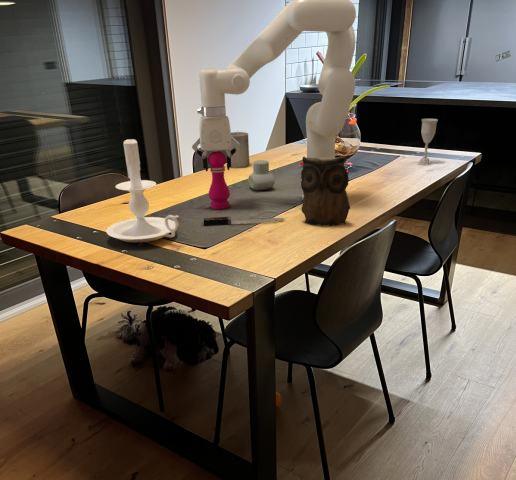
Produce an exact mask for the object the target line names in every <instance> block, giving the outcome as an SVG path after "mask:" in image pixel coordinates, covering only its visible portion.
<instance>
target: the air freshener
mask: <svg viewBox="0 0 516 480" xmlns="http://www.w3.org/2000/svg"><path fill="white" fill-rule="evenodd" d="M252 171H253V172H252V173H250V175H248V177H247V178H248V179H247V180H248V181H247V182H248V185H249V187H250V188H251V189H252V190H255V191H266V190H269V189H271V188H273V187H274V186H275V183H276V181H275V177H274V174H272V173H271V172H270V163H269V161H268V160H264V159H263V160H262V159H261V160H260V159H259V160H255V161H253V162H252Z"/></svg>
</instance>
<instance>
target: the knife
mask: <svg viewBox="0 0 516 480" xmlns="http://www.w3.org/2000/svg"><path fill="white" fill-rule="evenodd" d="M231 217H232V216H218V217H217V216H216V217H203V227H207V226H208V227H209V226H225V225H226V226H227V225H231V226H238V225H239V226H240V225H241V226H242V225H257V224H275V223H276V222H283V220H284V218H283V217H272V218H254V219H253V218H251V219H233V220H232V218H231ZM276 224H277V223H276Z"/></svg>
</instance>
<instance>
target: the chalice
mask: <svg viewBox="0 0 516 480" xmlns="http://www.w3.org/2000/svg"><path fill="white" fill-rule="evenodd" d="M438 121H439V119H437V118H421V131H420V132H421V138H422V140H423V143H424V144H425V145H424V151H423V153H424V155H423V157H421V158H420V160H419V162H418V164H419V166H429V165H431V162H430V158H429V157H428V156H427V155H428V153H429V152H428V149H429V144H430V143H431V142H432V140H433V138H434V137H435V135H436V130H437V123H438Z"/></svg>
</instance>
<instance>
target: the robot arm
mask: <svg viewBox="0 0 516 480" xmlns="http://www.w3.org/2000/svg"><path fill="white" fill-rule="evenodd" d="M356 17H357V11H356V7H355V5H354V3H353V2H352V1H351V0H291V1H289V2H288V3H287V4H286V5H285V6H284V7H283V8H282V9H281V10H280V11H279V13H278V14H277V15H276V16H275V17H274V18H273V19H272V20H271V21H270V22H269V23H268V24H267V25H266V27H264V28H263V30H262V31H261V32H260V33H259V34H258V35H257V36H256V37H255V38H253V40H252V41H251V42H250V43H249V44H248V45H247V46H246V47H245V48H244V49H243V50H242V51H241V52H240V53H239V54H238V55H237V56H236V57H235V58H234V59H233V60H232V61H231V63H230V64H229V65H228V66H227V67H226V68H225V69H220V68H204V69H201V70H200V71H199V73H198V74H199V90H200V102H201V107H200V108H196V109H197V110H196V111H197V114H198V115H199V114H200V115H201V116H200V118H199V138H197V140H196V141H195V142H194V143H193V144H192V146H191V149H192V150H193V151H194V152H195V153H196V154H197V155H198V156H199V157H200V158H201V159H202V166H203V167H202V168H203V169H205V172H209V163H208V157H207V155H208V152H215V151H217V150H219V151H225V154H226V169H227V171H230V168H232V167H231V157H232V155H233V154H234V153H235V152H236V151H237V149H238V148H239V147H240V143H238V142H237V141H236V140H235V139H234V138H233V137H232V136H231V133H232V132H231V123H230V118H229V116H228V115H227V113H226V111H227V110H226V97H225V96H226V94H227V95H236V96H237V95H242V94H244V93H245V92H247V90H248V89H249V87H250V82H251V78H253V76H254V75H255V74H256V73H257V72H258V71H260V70H261V69H262V68H263V67H264V66H266V65H268V64H270V63H271V62H274V61H275V60H277V59H278V58H279V57H280V56H281V55H282V54H283V53H284V52H285V51H286V50H287V48H289V47H290V45H291V44H292V43H293V42H294V41H295V40H296V39H297V38H298V37H299V36H300V35H301V34H302V33H303V32H316V33H317V32H319V33H321V32H323V33H324V32H325V34H326V37H327V49H326V53H325V57H324V60H323V65H322V68H321V71H320V74H319V77H318V81H317V88H318V91H319V94H320V95H322V97H321V101H319V102H316V103H314V104H312V105H311V106H310V107H308V110H307V112H306V116H305V132H306V158H318V157H325V158H326V157H335V156H336V155H335V154H336V136H337V135H338V134H340V133H341V131H342V130H343V128H344V126H345V123H346V121H347V119H348V114H349V112H350V108H351V105H352V101H353V99H354V95H355V90H356V79H355V76H354V74H353V73H352V72H351V66H352V62H353V58H354V55H355V49H356V33H355V29H354V26H353V25H354V23H355V21H356V19H357V18H356ZM232 143H233V144H234V145H235V146H234V148H233V149H232V150H231V151H230V150H229V149H230V148H231V145H232ZM199 147H200V148H199ZM335 158H336V157H335ZM303 197H304V193H303V194H302V195H301V200H302V201H303Z"/></svg>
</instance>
